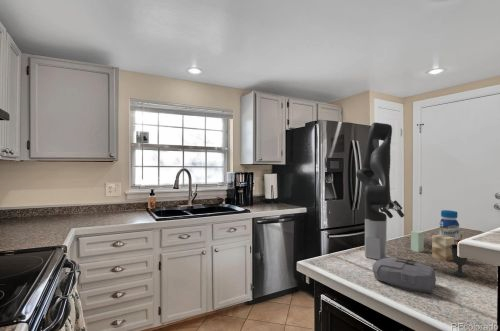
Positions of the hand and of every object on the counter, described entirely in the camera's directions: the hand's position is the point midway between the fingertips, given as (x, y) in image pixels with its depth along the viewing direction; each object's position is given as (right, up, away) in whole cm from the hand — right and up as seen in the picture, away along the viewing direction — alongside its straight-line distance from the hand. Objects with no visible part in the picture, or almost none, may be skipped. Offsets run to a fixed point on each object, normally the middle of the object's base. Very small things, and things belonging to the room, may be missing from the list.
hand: (397, 217), depth 146 cm
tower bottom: (+9, -15, -23) cm, 28 cm away
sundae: (+1, -14, -42) cm, 44 cm away
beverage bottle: (+21, -15, -10) cm, 28 cm away
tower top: (+9, -10, -22) cm, 26 cm away
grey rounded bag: (-26, -14, -50) cm, 58 cm away
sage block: (+4, -15, -11) cm, 19 cm away
